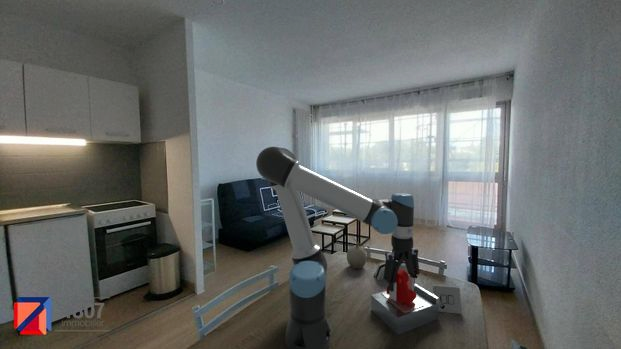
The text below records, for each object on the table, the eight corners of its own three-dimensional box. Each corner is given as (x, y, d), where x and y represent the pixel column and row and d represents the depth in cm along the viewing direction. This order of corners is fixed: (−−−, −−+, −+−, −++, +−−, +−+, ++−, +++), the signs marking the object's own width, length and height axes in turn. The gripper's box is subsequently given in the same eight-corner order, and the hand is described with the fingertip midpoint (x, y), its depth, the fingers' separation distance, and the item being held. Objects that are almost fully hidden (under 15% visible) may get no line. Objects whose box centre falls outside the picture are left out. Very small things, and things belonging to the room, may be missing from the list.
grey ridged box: (397, 335, 76) (397, 311, 76) (371, 310, 89) (371, 290, 89) (438, 319, 84) (438, 297, 83) (408, 298, 97) (408, 279, 96)
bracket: (417, 298, 85) (417, 272, 84) (409, 305, 80) (409, 278, 80) (394, 288, 91) (395, 264, 90) (386, 295, 87) (386, 269, 86)
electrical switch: (434, 312, 88) (434, 287, 88) (430, 305, 93) (430, 281, 93) (462, 315, 86) (461, 289, 86) (456, 307, 91) (456, 283, 91)
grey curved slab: (402, 271, 120) (406, 256, 116) (407, 278, 115) (412, 263, 111) (372, 275, 116) (376, 260, 112) (377, 283, 112) (380, 267, 108)
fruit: (364, 274, 117) (364, 245, 116) (343, 269, 123) (343, 241, 122) (370, 266, 126) (370, 239, 125) (351, 261, 132) (350, 235, 131)
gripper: (387, 243, 77) (386, 309, 78) (431, 234, 85) (430, 294, 86) (372, 236, 84) (372, 297, 85) (414, 229, 92) (414, 284, 93)
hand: (401, 295), depth 86 cm, fingers closed on bracket, 8 cm apart
